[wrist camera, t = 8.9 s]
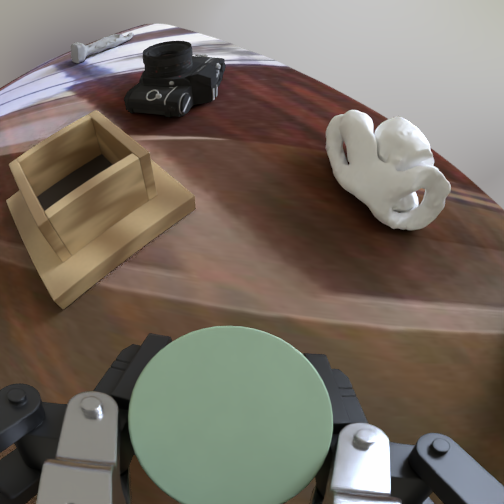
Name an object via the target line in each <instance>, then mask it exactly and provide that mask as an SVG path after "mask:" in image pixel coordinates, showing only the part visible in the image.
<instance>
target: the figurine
mask: <svg viewBox="0 0 504 504" xmlns="http://www.w3.org/2000/svg"><path fill="white" fill-rule="evenodd" d="M133 35H134V34H133V33H129V34H128V35H127V36H123V35H122V34H120V35H118V34H113V35H110V36H107V37H105V38H102V39H100V40H98V41H96V42H94V43H92V44H89V45H86V46H84V45H83V44H81V43H75V44H72V45H71V58H72V61H73V62H75V63H80V62H83V61H84V60H85V57H87V56H89V55H91V54H94V53H99V52H101V51H104V50H106V49H108V48H112V47H116V46H118V45H120V44H122V43H124V42H126V41H128V40H130V39H131V38H132V37H133Z"/></svg>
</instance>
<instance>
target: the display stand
mask: <svg viewBox="0 0 504 504" xmlns="http://www.w3.org/2000/svg"><path fill="white" fill-rule="evenodd" d="M9 167H10V169H11V171H12V174H13V176H14V178H15V181H16V183H17V185H18V188H19V191H18V192H17V193H15V194H14V195H13V196H11V197H10V198H9V199H8V200H7V201H6V202H7V204H8V207H9V210H10V212H11V215H12V217H13V219H14V222H15V224H16V227H17V229H18V231H19V234H20V236H21V238H22V240H23V242H24V245H25V247H26V249H27V251H28V253H29V255H30V257H31V259H32V261H33V263H34V265H35V267H36V269H37V271H38V273H39V275H40V277H41V279H42V281H43V283H44V284H45V286H46V288H47V290H48V292H49V294H50V295H51V297H52V299H53V301H54V302H55V303H56V304H57V305H58V306H59V307H61V308H62V309H63V310H64V309H65V308H66V307H67V306H69V305H70V304H71V303H72V302H73V301H75V300H76V299H77V298H78V297H79V296H81V295H82V294H83V293H84V292H86V291H87V290H88V289H89V288H91V287H92V286H93V285H94V284H96V283H97V282H98V281H99V280H101V279H102V278H103V277H104V276H106V275H107V274H108V273H110V272H111V271H112V270H113V269H115V268H116V267H117V266H119V265H120V264H121V263H122V262H124V261H125V260H126V259H128V258H129V257H130V256H132V255H133V254H134V253H136V252H137V251H138V250H140V249H141V248H142V247H144V246H145V245H146V244H148V243H149V242H150V241H152V240H153V239H154V238H156V237H157V236H158V235H160V234H161V233H163V232H164V231H165V230H167V229H168V228H170V227H171V226H172V225H174V224H175V223H177V222H178V221H179V220H181V219H182V218H184V217H185V216H186V215H188V214H189V213H191V212H192V211H194V210H195V209H196V208H195V196H194V195H193V194H192V193H191V192H190V191H188V190H187V189H186V188H185V187H183V186H182V185H181V184H180V183H179V182H177V181H176V180H175V179H174V178H173V177H171V176H170V175H169V174H168V173H167V172H165V171H164V170H163V169H162V168H161V167H159V166H158V165H157V164H156V163H155V162H153V161H152V160H151V158H150V153H149V152H148V151H147V150H146V149H145V148H143V147H142V146H141V145H140V144H138V143H137V142H136V141H135V140H133V139H132V138H131V137H130V136H128V135H127V134H126V133H125V132H123V131H122V130H121V129H120V128H118V127H117V126H116V125H115V124H113V123H112V122H111V121H110V120H108V119H107V118H106V117H105V116H103V115H102V114H101V113H100V112H98V111H97V110H95V111H93V112H91V113H90V114H88V115H86V116H84V117H82V118H80V119H79V120H77V121H75V122H73V123H71V124H70V125H68V126H66V127H65V128H63V129H61V130H60V131H58V132H56V133H55V134H53V135H51V136H50V137H48V138H47V139H45V140H43V141H42V142H40V143H39V144H37V145H36V146H34V147H33V148H31V149H30V150H28V151H27V152H25V153H24V154H22V155H21V156H20V157H18V158H17V159H16V160H14V161H13V162H11V163H10V164H9Z"/></svg>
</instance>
